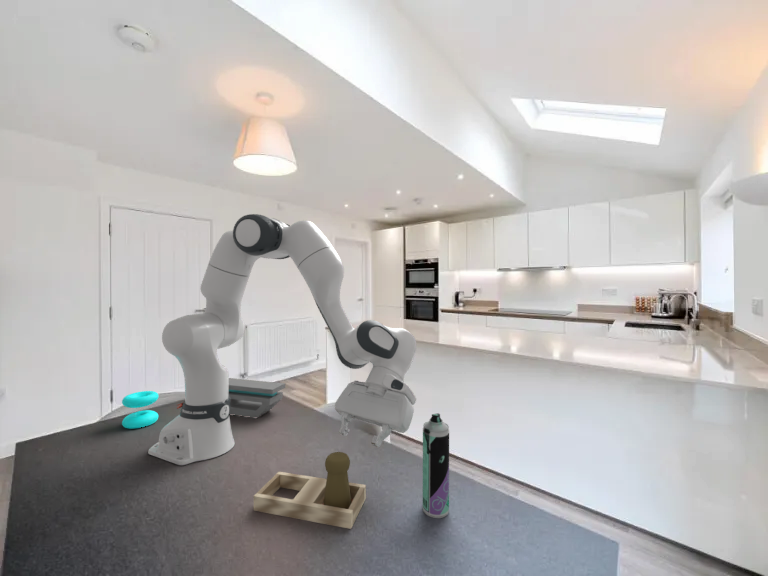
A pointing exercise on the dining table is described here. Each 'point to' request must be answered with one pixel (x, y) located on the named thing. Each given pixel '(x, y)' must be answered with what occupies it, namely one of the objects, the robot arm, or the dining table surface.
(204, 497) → the dining table surface
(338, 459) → the olive round-headed peg
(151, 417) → the donuts
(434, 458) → the spray can
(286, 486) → the socket rail
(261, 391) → the grey lidded container
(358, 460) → the dining table surface
